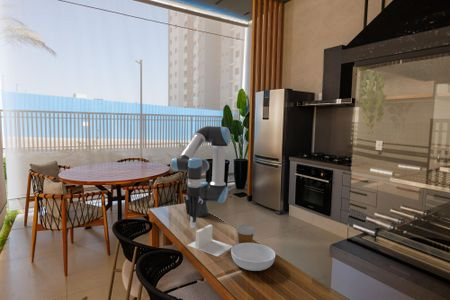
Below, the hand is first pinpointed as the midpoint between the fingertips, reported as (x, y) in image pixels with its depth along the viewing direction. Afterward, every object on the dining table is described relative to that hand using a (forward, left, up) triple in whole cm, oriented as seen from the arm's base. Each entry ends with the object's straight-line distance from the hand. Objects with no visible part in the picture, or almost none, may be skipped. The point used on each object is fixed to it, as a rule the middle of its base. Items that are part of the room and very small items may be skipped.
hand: (192, 227), depth 152 cm
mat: (0, +13, -8) cm, 15 cm away
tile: (+1, +9, -7) cm, 11 cm away
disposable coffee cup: (-9, +29, -8) cm, 31 cm away
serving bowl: (+3, +40, -8) cm, 41 cm away
